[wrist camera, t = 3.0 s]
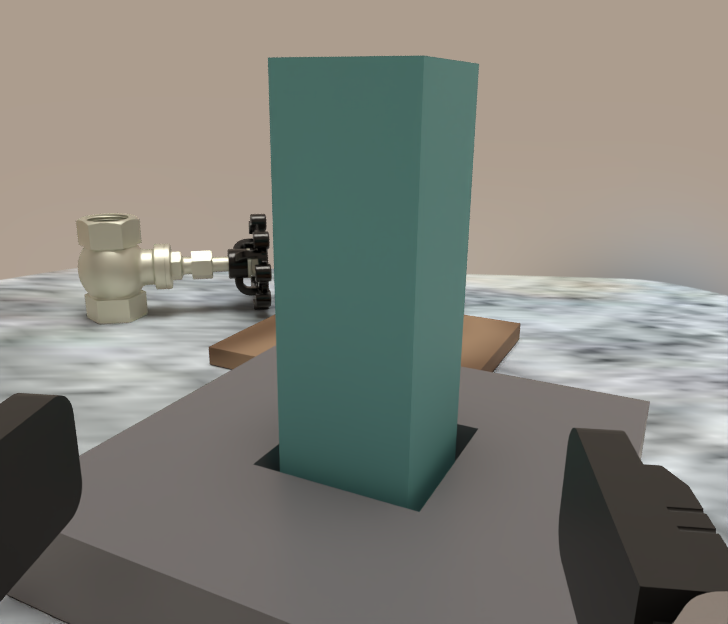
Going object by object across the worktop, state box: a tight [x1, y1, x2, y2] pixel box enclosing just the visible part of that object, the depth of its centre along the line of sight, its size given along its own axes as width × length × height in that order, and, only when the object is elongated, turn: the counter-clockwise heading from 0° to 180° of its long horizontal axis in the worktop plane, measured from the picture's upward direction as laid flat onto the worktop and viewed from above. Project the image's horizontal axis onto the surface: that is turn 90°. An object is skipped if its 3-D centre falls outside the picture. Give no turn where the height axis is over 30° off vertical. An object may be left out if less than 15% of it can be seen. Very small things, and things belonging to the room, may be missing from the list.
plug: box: [268, 56, 479, 512], centre depth 21 cm, size 4×4×15 cm
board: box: [209, 315, 520, 372], centre depth 39 cm, size 14×12×1 cm
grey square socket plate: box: [7, 345, 650, 624], centre depth 23 cm, size 16×16×3 cm
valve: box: [76, 213, 272, 324], centre depth 45 cm, size 7×7×12 cm
